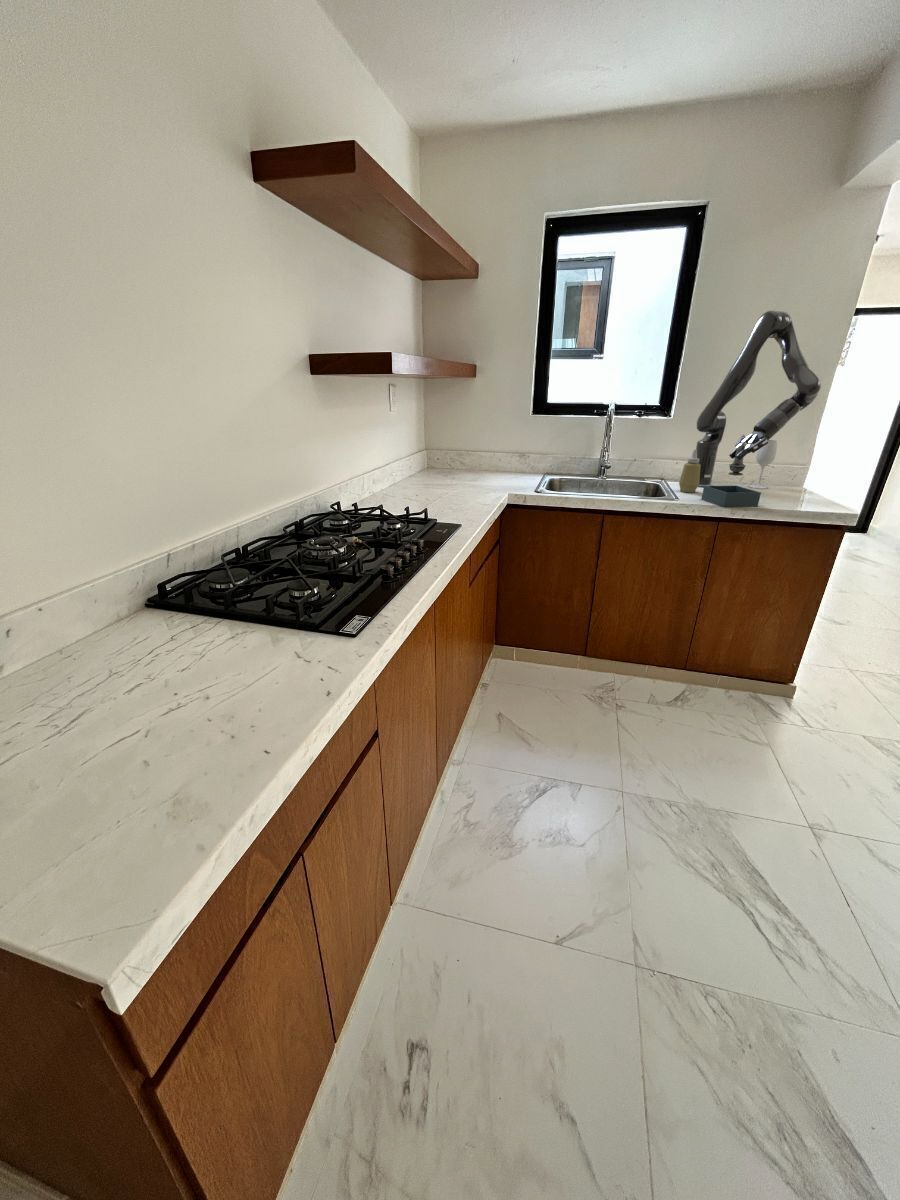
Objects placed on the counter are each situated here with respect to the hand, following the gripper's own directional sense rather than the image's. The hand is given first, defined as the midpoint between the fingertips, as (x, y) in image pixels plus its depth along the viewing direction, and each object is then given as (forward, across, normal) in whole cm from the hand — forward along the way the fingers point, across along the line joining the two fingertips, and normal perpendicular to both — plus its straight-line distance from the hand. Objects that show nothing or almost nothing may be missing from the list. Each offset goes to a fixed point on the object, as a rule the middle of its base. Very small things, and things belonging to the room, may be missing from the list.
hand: (734, 457), depth 194 cm
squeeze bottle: (+14, -24, +11) cm, 30 cm away
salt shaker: (+3, 0, +6) cm, 7 cm away
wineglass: (-14, -32, +39) cm, 53 cm away
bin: (+11, 0, +14) cm, 18 cm away
